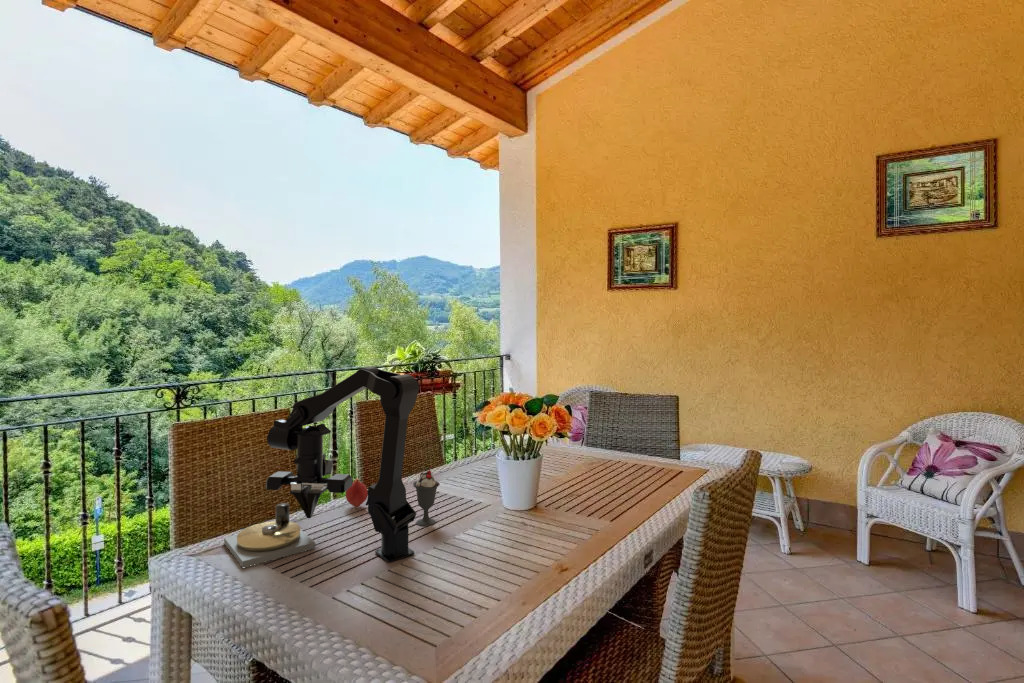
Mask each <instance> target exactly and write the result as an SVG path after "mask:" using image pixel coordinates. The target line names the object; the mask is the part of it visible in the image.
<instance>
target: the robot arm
mask: <svg viewBox="0 0 1024 683" xmlns="http://www.w3.org/2000/svg"><path fill="white" fill-rule="evenodd" d="M366 389H367V390H369V391H370V392H371V393H372V394H374V395H377V396H380V399H379V400H380V405H381V408H382V410H383V413H384V415H385V416H384V417H385V418H384V419H385V420H384V428H383V438H382V447H381V457H380V467H379V476H378V481H377V482H376V483H374V484H372V485H370V486H368V488H367V491H368V496H367V499H366V503H365V506H367V512H368V515H369V516H370V518H371V522H372V525H373V529H374V531H375V532H376V533H380V534H381V539H380V540H381V543H380V544H381V548H377V549H375V551H374V553H375V554H376V555H378V556H379V557H381V558H382V559H383V560H384V561H386V562H388V563H391V562H395V561H397V560H401V559H403V558H407V557H410V556H413V555H415V551H414V550H413V549H412V548H410V547H409V532H410V531H409V524H411V523H412V522H414V521H415V518H416V516H417V511H416V510H415V509H414V507H412V505H411V504H410V503H409V501H408V500H407V491H406V487H405V485H404V484H405V483H404V482H403V479H402V478H403V477H402V476H403V467H404V458H405V446H406V437H407V429H408V421H409V420H408V419H409V415H410V414H411V411H412V410H413V408H414V406H415V404H416V401H417V397H418V394H419V389H420V384H419V382H418V381H417V379H416V378H415V377H414V375H411V374H408V373H407V374H406V373H405V374H399V373H396V372H392V371H387V370H383V369H380V368H378V367H376V366H367V367H360V368H359V369H358V370H357V371H356V372H354V373H353V374H351V375H350V376H348V377H346V378H345V379H342V380H341V381H340V382H338V383H337V384H335V385H333V386H331V387H330V388H328V389H327V390H325V391H324V392H322V393H319V394H317V395H313V396H310V397H306V398H303V399H300V400H298V401H296V402H295V403H294V404H293V405H292V411H291V412H290V414H289V415H288V417H287V418H286V420H285V419H282V418H281V419H280V418H279V419H276V420H274V421H273V425H272V427H271V428H270V429H269V431H268V434H267V435H266V442H267V444H268V446H269V447H270V448H273V449H279V450H285V451H286V450H287V451H296V458H294V460H293V463H294V464H296V475H295V476H294V473H293V472H292V471H281V470H280V471H279V470H278V471H276V472H274V473H273V474H271V475H270V476H268V477H267V479H266V480H265V490H267V491H268V490H269V491H278V490H279V489H281V488H282V487H283V485H284V486H287V485H288V486H291V487H290V488H291V490H290V491H289V494H290V495H293V496H294V497H295V498H294V499H296V501H297V502H298V504H299V506H300V507H301V509H302V511H303V513H304V515H305V517H306V519H312V517H313V516H314V513H315V510H316V507H317V504H318V502H319V499H320V498H321V495H322V494H324V493H325V491H329V493H334V494H335V493H336V494H339V493H346V490H348V489H349V488H350V487H351V486H352V483H353V476H351V474H349V473H335V474H333V476H331V477H326V476H327V475H331V474H332V472H333V471H332V470H333V464H334V461H333V460H330V459H326V454H325V453H324V436H325V435H328V434H331V432H332V431H331V429H330V428H329V427H327V425H325V423H320V424H317V425H316V426H315V425H312V424H315V423H319V422H323V421H324V420H326V419H327V418H328V417H330V415H331V414H332V413H333V412H334V410H335V408H336V407H338V406H339V405H341V404H342V403H345V401H347V400H349V399H351V398H352V397H354V396H356V395H357V394H360V393H361V392H363V391H365V390H366ZM304 426H305V427H304Z"/></svg>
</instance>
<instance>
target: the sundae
mask: <svg viewBox="0 0 1024 683" xmlns="http://www.w3.org/2000/svg"><path fill="white" fill-rule="evenodd" d="M432 468H433V466H432V465H430V467H428V470H427V471H426V472H420V476H419V478H418V479H417V480H416V481H414V482H413V484H412V486H413V488H415V491H416V497H417V504H418V506H419V507H420V508H421V509H422V510H423V517H422V518H419V519H418V520H416V522H415V523H416V525H417V526H420V527H430V526H434V525H435V524H436V522H437V521H436V520H435V519H434V518H430V516H429V510H430V509H431V508H433V506H434V504H435V500H436V493H437V490H438V489H437V488H438V487H439V486H440V482H438V481H437V480H435V477H434V475H433V473H432V471H431V469H432Z"/></svg>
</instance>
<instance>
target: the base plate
mask: <svg viewBox="0 0 1024 683" xmlns="http://www.w3.org/2000/svg"><path fill="white" fill-rule="evenodd" d="M237 535H238V534H235V535H231V536H226V537H224V538H223V539H224V540H223V545H224V544H225V545H226V546H225V545H224V546H225V548H226V549H227V548H228V549H229V550H230V551H229V550H228V549H227V550H228V551H229V552H230V554H231V553H232V554H233V555H234V556H233V555H232V554H231V555H232V556H233V558H234V557H235V558H236V559H237V560H236V559H235V558H234V559H235V560H236V562H237V561H238V562H239V563H240V564H239V563H238V562H237V563H238V564H239V566H240V565H241V566H242V567H246V568H248V567H247V566H250V565H253V566H255V565H254V564H257V565H259V564H258V563H261V564H263V563H262V562H264V563H266V562H265V561H268V562H270V561H269V560H272V561H274V560H273V559H275V560H278V559H277V558H279V559H282V558H281V557H283V558H286V557H289V556H288V555H290V556H293V555H292V554H294V555H296V554H295V553H297V554H300V553H299V552H301V553H303V552H302V551H305V550H308V551H311V550H310V549H312V550H314V549H316V541H314V539H312V538H311V537H310V536H309V535H308V534H306V532H305V531H303V530H302V529H301V528H300V537H299V539H298V540H297V541H295V542H294V543H292V544H290V545H288V546H285V547H282V548H278V549H274V550H268V551H248V550H243V549H241V548H239V547H238V545H237ZM305 552H306V551H305ZM285 556H286V557H285ZM242 567H241V568H242ZM250 567H251V566H250Z"/></svg>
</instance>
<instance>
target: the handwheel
mask: <svg viewBox="0 0 1024 683" xmlns="http://www.w3.org/2000/svg"><path fill="white" fill-rule="evenodd" d="M300 529H301V526H300V525H299V524H298V523H296V522H294V521H290V503H288V502H282V503H278V504H276V505H275V520H274V521H266V522H262V523H261V522H260V523H257V524H253V525H251V526H248V527H246V528H243V529H242V530H241V531H239V533H238V534H236V535H237V545H238V547H239V548H241V549H243V550H248V551H268V550H274V549H278V548H282V547H285V546H288V545H290V544H292V543H294V542H295V541H297V540H298V539H299V537H300Z"/></svg>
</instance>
